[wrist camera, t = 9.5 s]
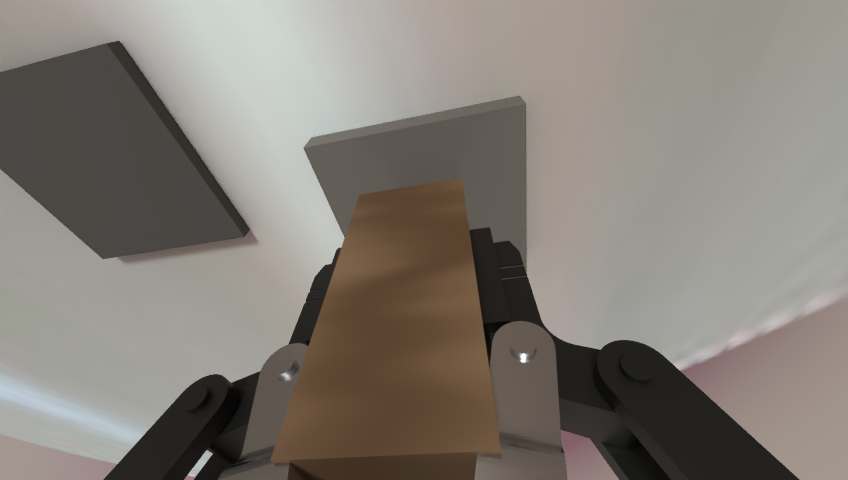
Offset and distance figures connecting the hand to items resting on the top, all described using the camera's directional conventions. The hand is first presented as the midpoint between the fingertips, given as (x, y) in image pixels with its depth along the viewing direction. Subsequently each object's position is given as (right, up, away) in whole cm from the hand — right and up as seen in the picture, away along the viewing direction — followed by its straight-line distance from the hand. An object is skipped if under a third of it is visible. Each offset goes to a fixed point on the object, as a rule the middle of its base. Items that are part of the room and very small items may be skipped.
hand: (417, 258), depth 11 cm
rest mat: (-15, +4, +5) cm, 16 cm away
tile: (0, +6, +3) cm, 6 cm away
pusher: (0, +1, +1) cm, 2 cm away
